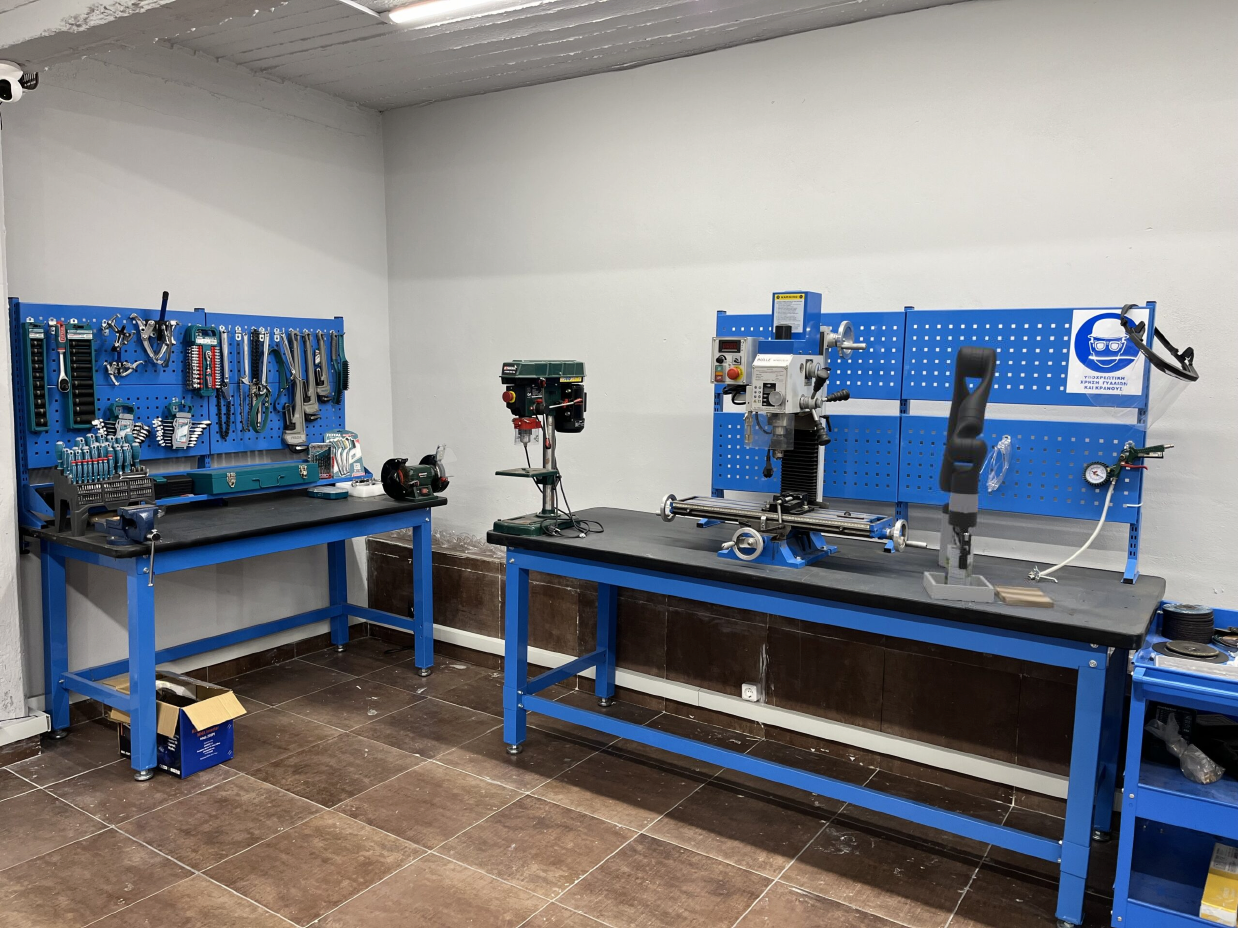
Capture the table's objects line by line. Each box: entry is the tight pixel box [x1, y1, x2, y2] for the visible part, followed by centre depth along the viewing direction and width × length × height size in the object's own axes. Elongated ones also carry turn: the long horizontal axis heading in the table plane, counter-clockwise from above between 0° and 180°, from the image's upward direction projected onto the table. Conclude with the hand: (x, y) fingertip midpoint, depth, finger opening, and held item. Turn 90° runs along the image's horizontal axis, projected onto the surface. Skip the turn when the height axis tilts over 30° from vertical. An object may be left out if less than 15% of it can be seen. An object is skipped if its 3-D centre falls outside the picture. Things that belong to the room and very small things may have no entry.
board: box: [992, 585, 1055, 609], centre depth 243 cm, size 16×12×2 cm
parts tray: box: [922, 571, 995, 604], centre depth 247 cm, size 16×16×4 cm
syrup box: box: [944, 542, 975, 586], centre depth 247 cm, size 6×6×14 cm
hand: (959, 565), depth 247 cm, fingers open, 8 cm apart
